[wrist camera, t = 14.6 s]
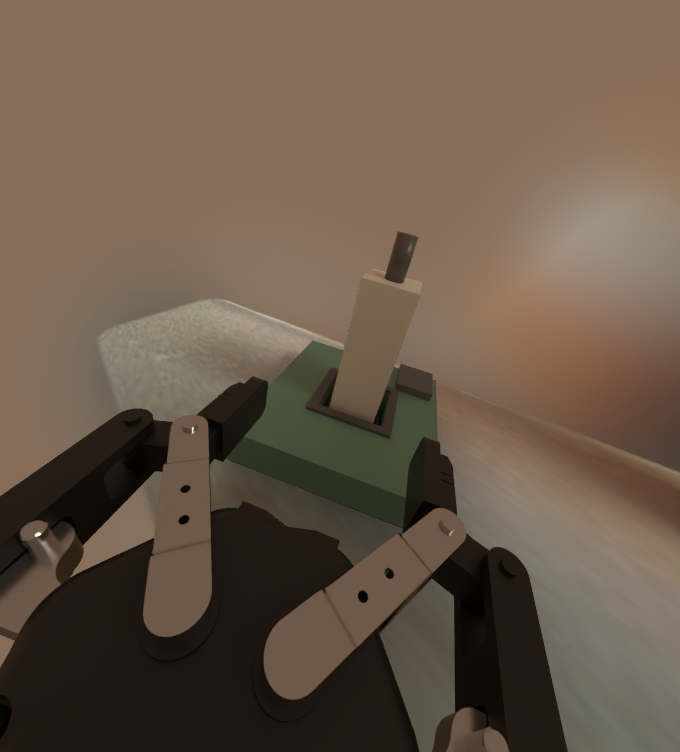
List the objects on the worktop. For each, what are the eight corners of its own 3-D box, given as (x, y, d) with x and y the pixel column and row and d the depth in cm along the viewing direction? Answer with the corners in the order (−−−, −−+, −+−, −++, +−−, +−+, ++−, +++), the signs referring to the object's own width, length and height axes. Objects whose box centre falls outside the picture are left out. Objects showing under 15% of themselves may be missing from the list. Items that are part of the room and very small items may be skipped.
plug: (372, 418, 29) (437, 240, 20) (364, 445, 26) (438, 245, 17) (335, 405, 30) (383, 225, 21) (323, 430, 26) (374, 227, 17)
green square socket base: (425, 401, 34) (438, 374, 32) (422, 535, 20) (444, 503, 18) (308, 361, 36) (313, 334, 34) (228, 459, 22) (228, 422, 20)
